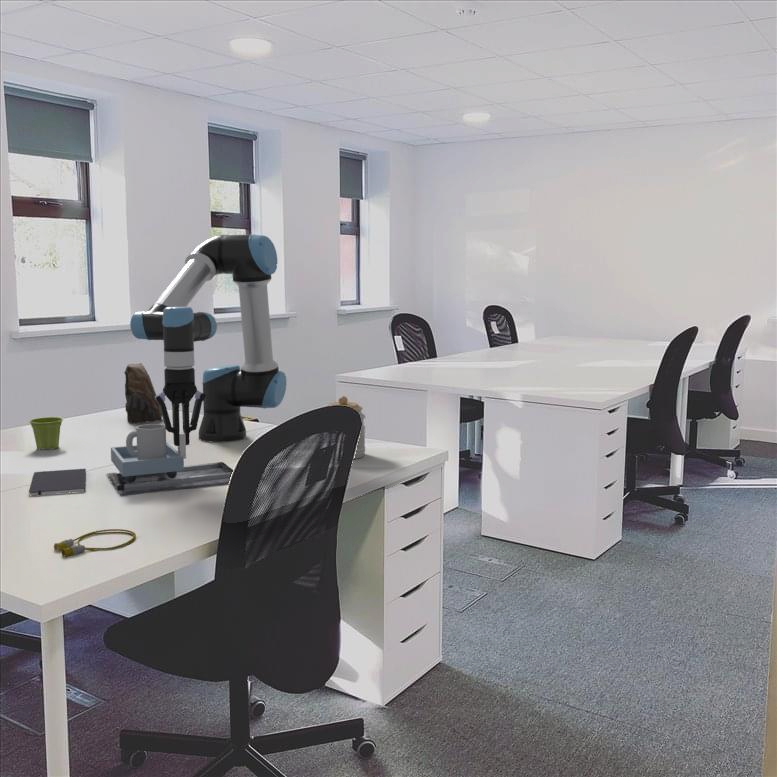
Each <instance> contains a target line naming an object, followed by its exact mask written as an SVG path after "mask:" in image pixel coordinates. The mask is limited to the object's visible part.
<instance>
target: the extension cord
mask: <svg viewBox="0 0 777 777" xmlns="http://www.w3.org/2000/svg"><path fill="white" fill-rule="evenodd" d="M94 534H95V535H102V534H124V535H126V534H127V535H129V536H132V538H131V539H129V540H128V541H125V542H124V543H121V544H118V545H115V546H111V547H85V545H84V544H80V542H81V541H82V540H83V539H84V538H87V537H90V536H94ZM136 537H137V535H136V533H135V532H134V531H132V530H128V529H122V528H121V529H119V528H112V529H111V528H109V529H101V530H96V531H91V532H87V533H85V534H82V535H80V536H78V537H77V538H74V539H72V538H69V539H65V540H62V541H60V542H58V543H56V542H55V543H54V545H53V548H54V551H55V550H58V551H57V552H61V556H62V557H65V558H67V557H69V556H75V555H78V554H81V553H83V552H85V551H86V550H87V551H90V552H99V551H103V550H104V551H105V550H107V551H108V550H115V549H119V548H122V547H125V546H128V545H130V544H132V543H133V542H134V541H135V540H136ZM77 540H78V541H77ZM75 541H77V545H74V543H75ZM64 555H65V556H64Z"/></svg>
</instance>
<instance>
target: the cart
mask: <svg viewBox="0 0 777 777" xmlns="http://www.w3.org/2000/svg"><path fill="white" fill-rule="evenodd" d="M133 448H134V450H137V444H135V445H133ZM166 449H167V458H157V459H147V460H138V458H137V457H135V456H132V455H131V454H130V453H129V452H128V450H127V447H126V445H125V446H124V445H122V446H113V447H112V446H110V461H111V462H112V464H113V465H114V466H115V468H116V469H117V471H118V472H120V473H121V474H122V476H123V477H125V478H126V480H127V481H128V482H130V483H132V482H134V481H135V480H136V475H144V474H154V473H164V472H166V474H167V476H168V477H169V478H175V477H176V475H177V471H184V466H185V465H184V460H185V459H184V458H183V456H182V455H181V454H180V453H179V452H178V450H177V449H175V448H174V447H173V446H172V445H171V444H169V442H166Z"/></svg>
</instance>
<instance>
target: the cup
mask: <svg viewBox="0 0 777 777" xmlns="http://www.w3.org/2000/svg"><path fill="white" fill-rule="evenodd" d="M135 429H136V430H132V431H130V432H128V434H127V436H126V440H125V446H126V447H127V450H128V452H129V453H130V454H131V455H132V456H135V457H137V458H138V460H147V459H157V458H167V449H166V443H167V430H166V426H165V424H161V423H147V424H141V425H137V426H135ZM134 438H136V445H137V450H134V448H133V446H134V445H133V442H134Z"/></svg>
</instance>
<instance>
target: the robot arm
mask: <svg viewBox="0 0 777 777" xmlns="http://www.w3.org/2000/svg"><path fill="white" fill-rule="evenodd" d="M277 268H278V254H277V250H276V247H275V245H274V243H273V241H272V240H271V239H270V238H269V237H268V236H267V235H261V234H253V233H252V234H219V235H216V236H212V237H211V238H208V239H207V240H205V241H203V242H202V243H200V244H199V245H197V246H196V247H194V249H193V250H192V251H191V252H190V253H189V254H188V255H187V257H186V258H185V261H184V266H183V267H182V268H181V270H180V271H178V273H177V274H176V276H174V278H173V280H171V281H170V283H169V284H168V286H167V287H166V288H165V289H164V290H163V292H162V293H161V294H160V295H159V297H158V298H157V299H156V300H155V301H154V302H153V304H152V305H151V307H149V309H148V310H146V311H145V310H142V311H137V312H134V313H133V315H132V316H131V318H130V323H129V325H130V326H129V327H130V331H131V334H132V335H133V337H135V338H136V339H139V340H148V341H163V366H164V367H165V368H164V371H163V372H164V385H163V386H164V387H163V388H162V392H160V393H159V394H156V395H155V397H154V398H155V400H156V401H157V402H158V404H159V407H160V410H161V414H162V421H163V425H165V426H166V432H168V433H172V434H173V437H172V438H173V445H174V446H175V447H177V452H179V453H180V454H181V455H182V456H183V458H184V460H185V459H187V448H186V446H190V434H191V432H192V431H196V430H197V427H198V423H199V418H200V413H201V410H202V406H203V414H202V415H203V417H202V419H201V423H200V425H199V429H198V439H199V440H200V439H201V440H200V441H203V440H205V441H204V442H209V441H212V443H226V442H227V443H228V442H229V443H230V442H237V441H241V440H244V439H246V438H247V429H246V426H245V424H244V420H243V418H242V415H241V408H256V409H257V408H258V409H260V408H261V409H274V408H277V407H279V406H280V405H281V404H282V401H284V398H285V395H286V390H287V376H286V373H285V372H284V371H282V370H281V371H279V364H278V362H276V361H275V360H274V357H273V346H272V344H273V343H272V333H271V330H272V329H271V321H270V320H271V318H270V307H269V294H268V292H269V291H268V284H269V283H270V281H272V275H273V274H275V273H276V271H277ZM225 274H226V275H232V281H233V283H234V284H236V285H237V286H238V292H239V294H238V295H239V296H238V297H239V306H240V317H241V318H240V319H241V327H242V328H241V330H242V340H243V350H244V363H243V364H242V365H241V366H240V365H239V364H233V365H223V366H216V367H215V366H214V367H210V368H207V369H205V370H204V371H203V374H202V382H201V383H202V384H201V385H202V391H199V390H198V387H197V386H196V375H195V370H196V369H195V368H194V366H195V347H194V346H195V343H196V342H204V341H207V340H209V339H211V338H213V337H214V336H215V335H216V333H217V330H218V324H217V321H216V318H215V317H214V316H213V315H212V314H211V313H208V312H203V311H198V312H194V309H193V308H192V307H190V306H188V305H189V304H190V302H192V301H193V299H194V297H196V295H197V294H198V293H199V291H200V290H201V288H202V287H203V286H204V285H205V283H207V282H209V281H211V280H212V279H213V278H214V277H215V276H217V275H225ZM166 398H167V399H168V400H169V402H170V403H171V407H172V408H171V412H172V414H171V415H172V417H171V418H172V421H171V419H170V415H169V413H168V408H167V405H166V402H165V401H166ZM193 398H195V401H194V405H193V408H192V409H193V410H192V414H191V419H190V402H191V401H192V399H193ZM202 403H203V405H202ZM180 404H181V410H182V416H181V417H182V432H181V431H180V430H181V429H180ZM171 422H172V423H171Z"/></svg>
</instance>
